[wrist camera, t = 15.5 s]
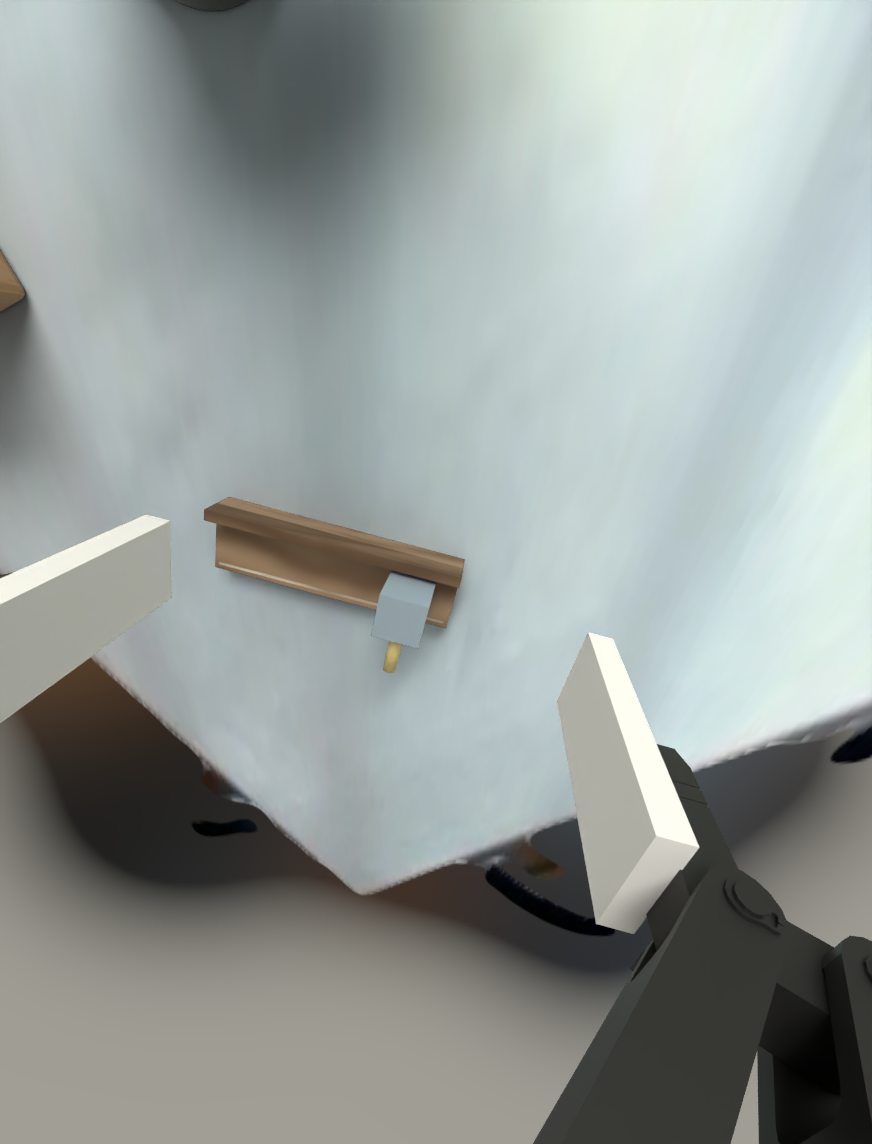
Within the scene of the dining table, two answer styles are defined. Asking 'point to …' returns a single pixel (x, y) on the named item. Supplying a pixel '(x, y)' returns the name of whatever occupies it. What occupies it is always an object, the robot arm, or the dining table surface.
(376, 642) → the dining table surface
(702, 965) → the robot arm
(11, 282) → the wooden block
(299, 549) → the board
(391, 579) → the grey cube mallet
